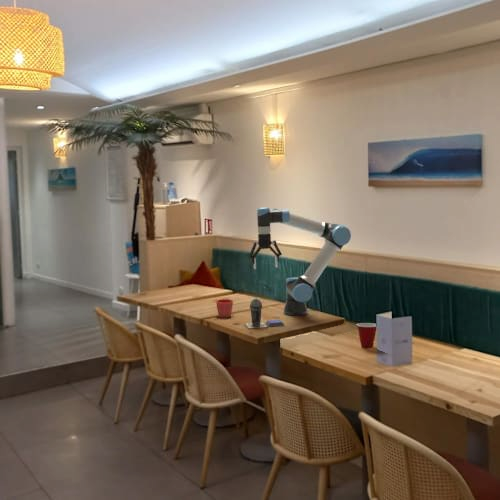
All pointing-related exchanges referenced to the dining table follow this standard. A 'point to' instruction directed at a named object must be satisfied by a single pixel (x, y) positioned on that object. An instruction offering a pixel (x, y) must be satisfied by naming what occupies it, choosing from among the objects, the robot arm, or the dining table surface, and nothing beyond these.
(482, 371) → the dining table surface
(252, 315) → the beverage cup
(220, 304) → the flower pot
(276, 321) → the ink pad
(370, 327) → the plastic cup
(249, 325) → the marked board
